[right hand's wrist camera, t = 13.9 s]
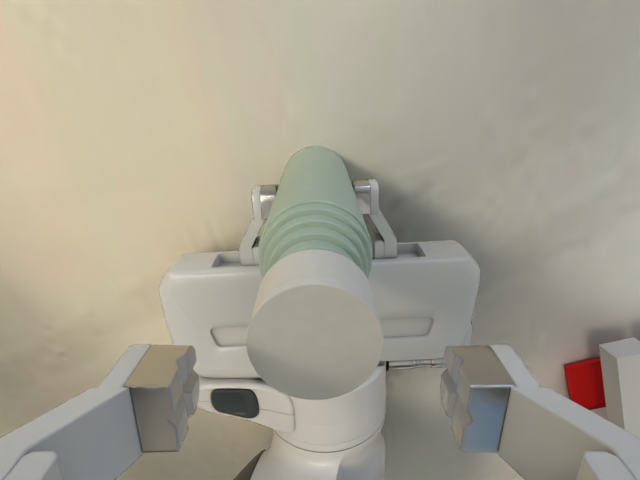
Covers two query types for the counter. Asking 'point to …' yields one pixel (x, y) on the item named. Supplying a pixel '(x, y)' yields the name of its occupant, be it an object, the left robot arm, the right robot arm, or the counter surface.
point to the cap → (315, 326)
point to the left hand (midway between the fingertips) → (314, 184)
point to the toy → (610, 383)
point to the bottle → (315, 212)
